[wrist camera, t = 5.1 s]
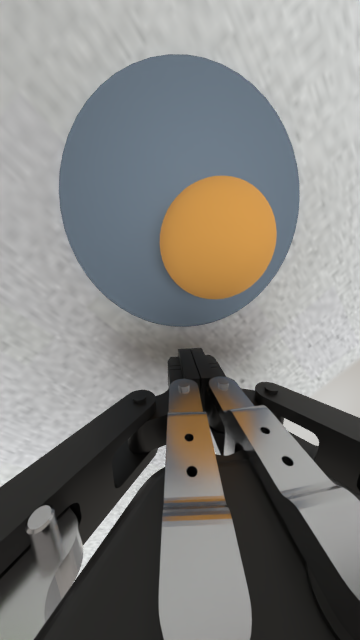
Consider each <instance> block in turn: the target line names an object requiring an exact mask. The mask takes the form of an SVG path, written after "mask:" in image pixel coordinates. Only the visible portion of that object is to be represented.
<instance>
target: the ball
mask: <svg viewBox="0 0 360 640" xmlns="http://www.w3.org/2000/svg"><path fill="white" fill-rule="evenodd" d="M276 238H277V230H276V222H275V217H274V214H273V211H272V208H271V207H270V205H269V203H268V201H267V200H266V198H265V197H264V195H263V194H262V193H261V192H260V191H259V190H258V189H257V188H256V187H254V186H253V185H252V184H250V183H249V182H247V181H245V180H242V179H240V178H236V177H232V176H212V177H207V178H204V179H201V180H199V181H197V182H195V183H193V184H191V185H190V186H188V187H187V188H185V189H184V190H183V191H182V192H181V193H180V194H179V195H178V196H177V197H176V198H175V200H174V201H173V202H172V203H171V205H170V207H169V208H168V210H167V212H166V214H165V217H164V219H163V223H162V226H161V231H160V252H161V256H162V260H163V263H164V266H165V268H166V270H167V272H168V274H169V275H170V277H171V278H172V279H173V280H174V282H175V283H176V284H177V285H178V286H180V287H181V288H182V289H183V290H185V291H186V292H188V293H190V294H192V295H194V296H197V297H200V298H205V299H224V298H229V297H232V296H234V295H237V294H239V293H241V292H243V291H245V290H246V289H248V288H249V287H251V286H252V285H253V284H254V283H255V282H256V281H257V280H258V279H259V278H260V277H261V276H262V275H263V273H264V272H265V270H266V269H267V267H268V265H269V263H270V261H271V259H272V256H273V254H274V250H275V246H276Z"/></svg>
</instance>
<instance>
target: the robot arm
mask: <svg viewBox="0 0 360 640" xmlns="http://www.w3.org/2000/svg"><path fill="white" fill-rule="evenodd" d="M168 385H169V389H168V390H167V391H166V392H165V393H163V394H161V395H158V396H155V395H154V394H153V393H152V392H150V391H147V390H137V391H134V392H132V393H130V394H128V395H127V396H125V397H124V398H123V399H121V400H120V401H118V402H117V403H116V404H114V405H113V406H112V407H110V408H109V409H107V410H106V411H105V412H103V413H102V414H101V415H99V416H98V417H96V418H95V419H94V420H92V421H91V422H90V423H88V424H87V425H85V426H84V427H83V428H81V429H80V430H79V431H77V432H76V433H74V434H73V435H72V436H70V437H69V438H67V439H66V440H65V441H63V442H62V443H61V444H59V445H58V446H56V447H55V448H54V449H52V450H51V451H50V452H48V453H47V454H45V455H44V456H43V457H41V458H40V459H39V460H37V461H36V462H34V463H33V464H32V465H30V466H29V467H28V468H26V469H25V470H23V471H22V472H21V473H19V474H18V475H17V476H15V477H14V478H12V479H11V480H10V481H8V482H7V483H5V484H4V485H3V486H1V487H0V640H360V418H358V417H356V416H353V415H351V414H348V413H346V412H343V411H341V410H339V409H336V408H334V407H331V406H329V405H326V404H324V403H321V402H319V401H316V400H314V399H311V398H309V397H307V396H304V395H302V394H299V393H297V392H294V391H292V390H289V389H287V388H284V387H282V386H279V385H277V384H274V383H270V382H261V383H258V384H257V385H256V387H255V391H254V390H247V389H241V388H240V387H239V386H238V384H237V383H236V382H235V381H234V380H232V379H230V378H228V377H226V376H225V374H224V373H223V371H222V369H221V368H220V366H219V364H218V362H217V361H216V359H215V358H214V357H212V356H211V355H205V354H204V352H203V350H202V348H194V349H178V357H170V359H169V360H168ZM284 418H286V419H288V420H290V421H292V422H294V423H296V424H298V425H300V426H302V427H304V428H305V429H308V430H309V431H311V432H313V433H314V434H315V435H316V436H317V437H318V439H319V446H315V445H312V444H311V443H309V442H307V441H305V440H303V439H301V438H299V437H298V436H296V435H294V434H292V433H290V432H289V431H287V430H286V428H285V427H284V426H283V421H284ZM164 445H166V463H165V467H164V468H162V469H160V470H159V471H158V472H156V473H155V474H153V475H152V476H151V477H150V478H149V479H148V480H147V481H146V482H145V483H144V484H143V486H142V487H141V488H140V489H139V491H138V492H137V494H136V495H135V496H134V498H133V499H132V501H131V502H130V504H129V505H128V506H127V508H126V509H125V511H124V512H123V513H122V515H121V516H120V518H119V519H118V521H117V522H116V523H115V525H114V526H113V528H112V529H111V530H110V532H109V533H108V535H107V536H106V538H105V539H104V540H103V542H102V543H101V545H100V546H99V548H98V549H97V550H96V552H95V553H94V555H93V556H92V557H91V559H90V560H89V562H88V563H87V565H86V566H85V567H84V569H83V570H82V572H81V573H80V574H79V576H78V577H77V579H76V580H75V578H76V576H77V574H78V572H79V570H80V567H81V563H82V559H83V545H84V543H85V542H86V541H87V540H88V538H89V537H90V536H91V535H92V533H93V532H94V531H95V530H96V528H97V527H98V526H99V525H100V524H101V522H102V521H103V520H104V519H105V517H106V516H107V515H108V514H109V512H110V511H111V510H112V509H113V507H114V506H115V505H116V504H117V502H118V501H119V500H120V499H121V497H122V496H123V495H124V494H125V492H126V491H127V490H128V489H129V487H130V486H131V485H132V484H133V482H134V481H135V480H136V479H137V477H138V476H139V475H140V474H141V472H142V471H143V470H144V469H145V467H146V466H147V465H148V464H149V463H150V461H151V460H152V459H153V458H154V456H155V455H156V453H157V450H158V448H159V447H161V446H164ZM214 449H215V451H214ZM215 452H216V454H215ZM74 580H75V582H74ZM73 582H74V583H73ZM71 585H72V586H71ZM69 588H70V589H69Z"/></svg>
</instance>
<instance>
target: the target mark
mask: <svg viewBox="0 0 360 640" xmlns="http://www.w3.org/2000/svg"><path fill="white" fill-rule="evenodd" d="M212 176H232V177H236V178H240V179H242V180H245V181H247V182H249V183H250V184H252V185H253V186H254V187H256V188H257V189H258V190H259V191H260V192H261V193H262V194H263V195H264V197H265V198H266V200H267V201H268V203H269V205H270V207H271V208H272V211H273V214H274V217H275V222H276V230H277V238H276V246H275V250H274V254H273V256H272V259H271V261H270V263H269V265H268V267H267V269H266V270H265V272H264V273H263V275H262V276H261V277H260V278H259V279H258V280H257V281H256V282H255V283H254V284H253V285H252V286H251V287H249V288H248V289H246V290H245V291H243V292H241V293H239V294H237V295H234V296H232V297H229V298H224V299H205V298H200V297H197V296H194V295H192V294H190V293H188V292H186V291H185V290H183V289H182V288H181V287H180V286H178V285H177V284H176V283H175V282H174V280H173V279H172V278H171V277H170V275H169V274H168V272H167V270H166V268H165V266H164V263H163V260H162V256H161V252H160V231H161V226H162V223H163V219H164V217H165V214H166V212H167V210H168V208H169V207H170V205H171V203H172V202H173V201H174V200H175V198H176V197H177V196H178V195H179V194H180V193H181V192H182V191H183V190H184V189H185V188H187V187H188V186H190V185H191V184H193V183H195V182H197V181H199V180H201V179H204V178H207V177H212ZM59 197H60V208H61V214H62V219H63V223H64V228H65V231H66V234H67V237H68V240H69V243H70V246H71V248H72V250H73V252H74V254H75V256H76V258H77V260H78V262H79V264H80V265H81V267H82V268H83V270H84V271H85V273H86V275H87V276H88V277H89V278H90V280H91V281H92V282H93V283H94V285H95V286H96V287H97V288H98V289H99V290H100V291H101V292H102V293H103V294H104V295H105V296H106V297H107V298H108V299H110V300H111V301H112V302H114V303H115V304H116V305H118V306H119V307H120V308H122V309H124V310H125V311H127V312H129V313H131V314H132V315H134V316H137V317H139V318H142V319H144V320H146V321H150V322H153V323H157V324H161V325H168V326H184V327H186V326H196V325H202V324H207V323H211V322H214V321H217V320H220V319H222V318H225V317H227V316H229V315H231V314H233V313H235V312H237V311H238V310H240V309H241V308H243V307H244V306H246V305H247V304H249V303H250V302H251V301H252V300H253V299H254V298H256V297H257V296H258V295H259V294H260V293H261V292H262V291H263V290H264V288H265V287H266V286H267V285H268V284H269V283H270V281H271V280H272V279H273V277H274V276H275V274H276V273H277V271H278V270H279V268H280V266H281V264H282V263H283V261H284V259H285V257H286V254H287V252H288V250H289V248H290V245H291V242H292V239H293V235H294V232H295V228H296V223H297V218H298V210H299V177H298V170H297V163H296V159H295V155H294V152H293V148H292V145H291V142H290V140H289V137H288V134H287V132H286V129H285V128H284V126H283V124H282V122H281V120H280V118H279V116H278V115H277V113H276V112H275V110H274V109H273V107H272V106H271V105H270V103H269V102H268V100H267V99H266V98H265V97H264V96H263V95H262V94H261V93H260V92H259V90H258V89H257V88H256V87H255V86H254V85H253V84H251V83H250V82H249V81H248V80H246V79H245V78H244V77H242V76H241V75H240V74H239V73H237V72H235V71H233V70H231V69H230V68H228V67H226V66H224V65H223V64H220V63H217V62H214V61H212V60H209V59H206V58H202V57H197V56H191V55H162V56H156V57H150V58H147V59H144V60H142V61H139V62H136V63H133V64H131V65H129V66H127V67H126V68H124V69H122V70H120V71H119V72H117V73H115V74H114V75H113V76H111V77H110V78H109V79H108V80H107V81H105V82H104V83H103V84H102V85H100V86H99V88H98V89H97V90H96V91H95V92H94V93H93V94H92V95H91V97H90V98H89V99H88V100H87V101H86V103H85V105H84V106H83V108H82V109H81V111H80V112H79V114H78V115H77V117H76V119H75V121H74V123H73V126H72V128H71V130H70V132H69V134H68V138H67V141H66V144H65V148H64V151H63V155H62V161H61V167H60V177H59Z"/></svg>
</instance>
